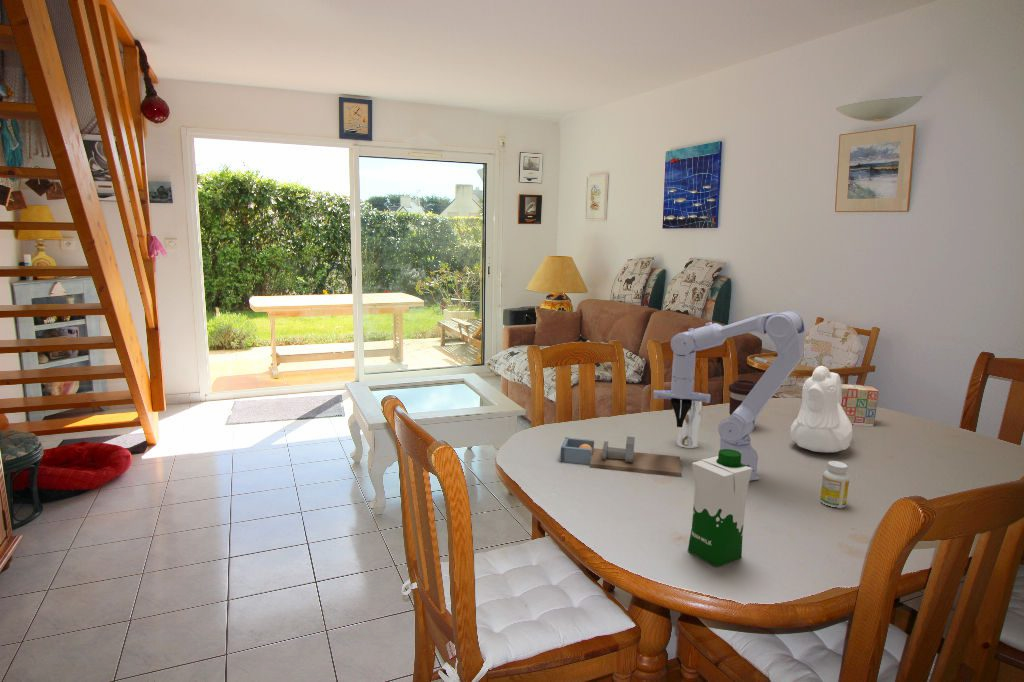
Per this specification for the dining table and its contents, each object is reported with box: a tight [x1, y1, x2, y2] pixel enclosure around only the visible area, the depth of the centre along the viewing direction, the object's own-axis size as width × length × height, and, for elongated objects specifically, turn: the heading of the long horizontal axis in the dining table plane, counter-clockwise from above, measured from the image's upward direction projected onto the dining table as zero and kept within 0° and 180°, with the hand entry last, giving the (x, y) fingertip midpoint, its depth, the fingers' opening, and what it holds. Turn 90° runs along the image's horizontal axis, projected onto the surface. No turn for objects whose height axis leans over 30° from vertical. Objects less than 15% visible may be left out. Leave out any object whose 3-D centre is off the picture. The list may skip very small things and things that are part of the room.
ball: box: [579, 444, 593, 457], centre depth 166 cm, size 4×4×4 cm
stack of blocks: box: [800, 383, 880, 425], centre depth 205 cm, size 21×6×12 cm, turn 78°
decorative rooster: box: [789, 365, 853, 453], centre depth 177 cm, size 25×16×25 cm, turn 127°
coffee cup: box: [728, 379, 757, 427], centre depth 195 cm, size 10×10×15 cm
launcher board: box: [589, 447, 682, 477], centre depth 163 cm, size 23×12×1 cm, turn 77°
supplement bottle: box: [819, 460, 850, 509], centre depth 140 cm, size 5×5×10 cm
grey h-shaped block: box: [602, 436, 636, 463], centre depth 164 cm, size 8×6×5 cm
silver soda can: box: [676, 400, 704, 449], centre depth 178 cm, size 7×7×15 cm
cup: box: [559, 436, 595, 466], centre depth 167 cm, size 8×8×4 cm
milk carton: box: [687, 449, 752, 568], centre depth 116 cm, size 9×9×20 cm
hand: (679, 426), depth 166 cm, fingers closed
